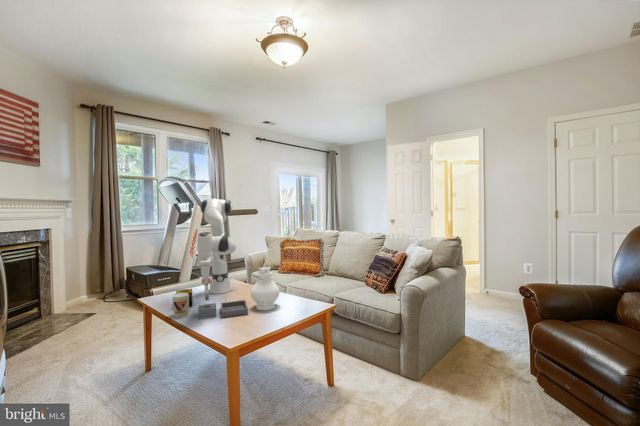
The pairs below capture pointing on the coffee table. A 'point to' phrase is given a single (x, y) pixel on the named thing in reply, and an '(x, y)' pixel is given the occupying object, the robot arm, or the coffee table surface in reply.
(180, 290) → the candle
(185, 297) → the coffee cup
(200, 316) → the hitch block
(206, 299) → the pin
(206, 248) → the robot arm
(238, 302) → the tray
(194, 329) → the coffee table surface
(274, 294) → the decorative vase
